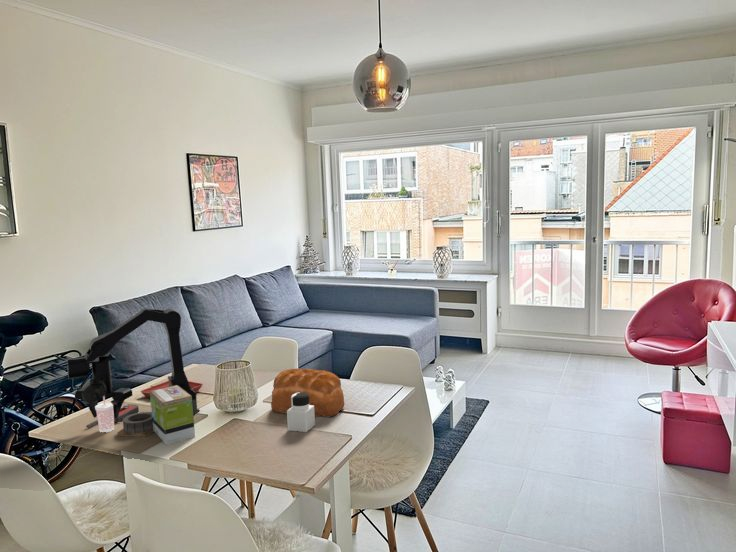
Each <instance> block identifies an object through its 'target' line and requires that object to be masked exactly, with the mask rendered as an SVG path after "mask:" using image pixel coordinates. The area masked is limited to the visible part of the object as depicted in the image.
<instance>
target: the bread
mask: <svg viewBox="0 0 736 552" xmlns="http://www.w3.org/2000/svg"><path fill="white" fill-rule="evenodd" d="M272 387H273V389H272V392H271V403H270V407H271V409H272V411H273V412H275V413H281V414H284V413H285V414H287V410H289V409H290V408H291V407H292V404H291V396H292V395H293V394H295V393H299V392H304V393H307V394H308V395H309V405H314V413H315V416H316V417H334V416H335V415H337V414H338V413H339V411H340V410H341V411H342V410H343V409H344V407H345V398H344V397H345V396H344V392H343V389H342V383H341V378H340V377H339V376H338V375H336V374H335V373H333V372H331V371H328V370H323V369H322V370H320V369H319V370H317V369H314V368H312V369H311V368H289V369H284V370H282V371H281V372H280V373H279V374H277V375H276V377H275V378H274V380H273V386H272ZM341 411H340V412H341Z"/></svg>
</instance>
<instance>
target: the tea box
mask: <svg viewBox="0 0 736 552" xmlns="http://www.w3.org/2000/svg"><path fill="white" fill-rule="evenodd" d="M149 399H150V408H151V412H152V420H153V430H154V431H153V432H154V433H155V434H156V435H157V436H158V437H159V438H160V440H161V441H163V443H164V444H165V445H167V446H168V445H171V444H174V443H178V442H181V441H185V440H189V439H192V438H195V437H196V430H195V419H194V415H193V405H192V396H191V395H190V394H188V393H187V392H186V391H184V390H183V389H182V388H180V387H179V386H178V385H176V386H171V387H167V388H163V389H158V390H154V391H150V398H149Z"/></svg>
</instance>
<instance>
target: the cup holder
mask: <svg viewBox="0 0 736 552" xmlns="http://www.w3.org/2000/svg"><path fill="white" fill-rule="evenodd" d="M122 425H123V428H122V429H120V430H119V431H117V433H116V435H117V436H123V435H124V436H125V435H126V436H127V437H129V436H131V437H145V436H146V437H147V436H149V435H151V432H152V433H153V432H155V431H154V430H153V420H152V411H141V412H140V411H139V413H134V414H131V415H129V416H126V417H125V418H123V421H122ZM148 434H149V435H148Z"/></svg>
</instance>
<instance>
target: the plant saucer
mask: <svg viewBox="0 0 736 552" xmlns="http://www.w3.org/2000/svg"><path fill="white" fill-rule="evenodd" d="M188 382H189V385H190V387H191V388H192V389H193V390H194V391H195V392H196V393H197V392H199V391H200V389H201V388H202V387H203V385H204V383H200V382H195V381H189V380H188ZM167 387H169V380H166V381H164V382H160V383H159V384H155V385H153V386H151V387H148V388H145V389H141V390H140V393H141V394H142V395H143V396H145V397H146V398H149V397H150V391H154V390H158V389H163V388H167Z"/></svg>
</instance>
